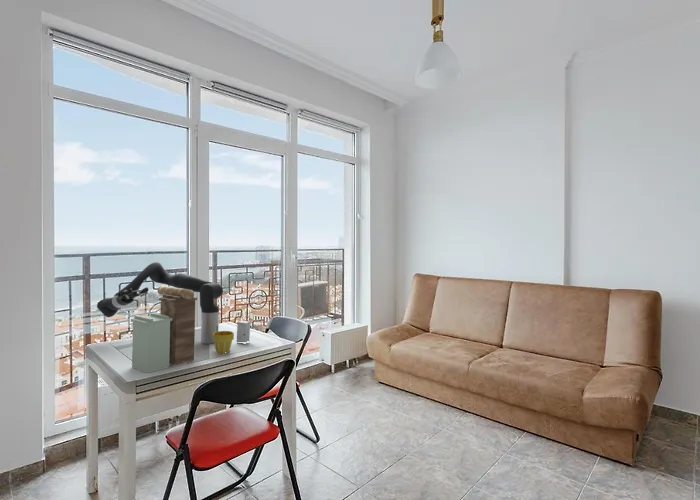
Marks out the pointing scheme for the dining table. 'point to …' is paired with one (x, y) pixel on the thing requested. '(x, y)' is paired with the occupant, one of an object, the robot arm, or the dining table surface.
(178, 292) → the tan roll
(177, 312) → the walnut tub
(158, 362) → the pale green lidded tub
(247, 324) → the skincare box
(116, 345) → the dining table surface
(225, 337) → the plant pot
